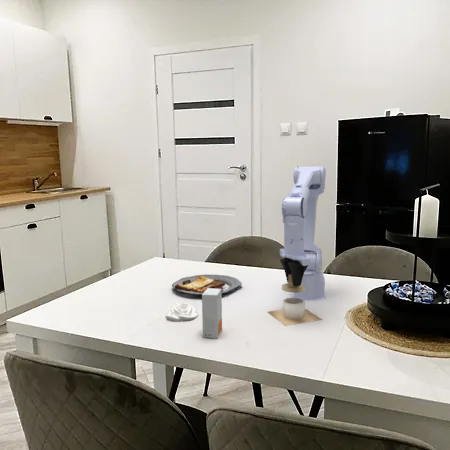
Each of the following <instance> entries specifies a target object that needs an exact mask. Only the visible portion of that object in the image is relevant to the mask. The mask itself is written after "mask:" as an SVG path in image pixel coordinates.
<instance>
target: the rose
mask: <svg viewBox="0 0 450 450" xmlns="http://www.w3.org/2000/svg"><path fill="white" fill-rule="evenodd" d="M198 316H199V314H198V312H197V309H196V308H195V307H194V306H192V305H191V304H190V303H186V302H175V303H174V304H173V305H172V306H171V307H170V308H169V310H168V313H166V315H165V317H166V318H167V319H168V320H170V321H173V322H184V321H192V320H195V319H196V318H198Z"/></svg>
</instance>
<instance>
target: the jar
mask: <svg viewBox="0 0 450 450" xmlns="http://www.w3.org/2000/svg"><path fill="white" fill-rule="evenodd" d="M282 309H283V316H284V317H285V318H287V319H302V318H304V317H305V309H306V301H305V300H303V299H301V298H294V297H292V296H291V297H286V298H284V299H282Z"/></svg>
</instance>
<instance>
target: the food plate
mask: <svg viewBox="0 0 450 450" xmlns="http://www.w3.org/2000/svg"><path fill="white" fill-rule="evenodd" d="M242 284H243V283H242V281H240V280H239V279H238V278H236V277H233V276H229V275H222V274H197V275H195V274H194V275H192V276H190V275H189V276H186V277H182V278H180V279H177V280H176V281H175V282H173V283H172V285H171V286H172V289H173V290H174V291H176V292H180V293H183V294H188V295H200V296H202V294H203V293H204V291H205V290H206V289H207V288H214V289H221V291H222V294H227V293H231V292H232V291H233V290H235V289H237V288H238V287H239V286H242Z"/></svg>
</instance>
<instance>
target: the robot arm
mask: <svg viewBox="0 0 450 450" xmlns="http://www.w3.org/2000/svg"><path fill="white" fill-rule="evenodd" d="M326 174H327V173H326V168H325V166H324V165H320V166H319V165H318V166H297V165H296V166H295V168H294V169H293V183H294V185H292V186H291V189H290V191H289V193H288V196H286V197H285V198H283V199H282V200H281V215H282V224H284V225H283V226H284V227H283V229H284V230H283V235H284V236H283V243H284V244H283V247H284V248H279V256H280V257H281V259H279V261H280V263H281V265H282V268H283V270H284V274H285V277H286V281H287V283H288V276H289V274H292V282H293V286H301V284H303V285H305V291H303V292H298V293H291V294H289V296H290V297H291V298H292V297H294V298H301V299H303V300H305V302H308V301H310V302H311V301H315V300H316V301H317V300H323V299H326V296H325V293H326V292H325V284H326V281H325V276H324V274H323V272H321V270H322V265H323V257H322V254H323V253H322V250H321V248H320V247H319V245H317V244H316V243H315V232H316V220H317V219H316V218H317V209H318V208H317V206H318V199H319V196H320V195H322V194H323V193H324V192H325V189H326V188H325V187H326V176H327V175H326Z"/></svg>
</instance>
